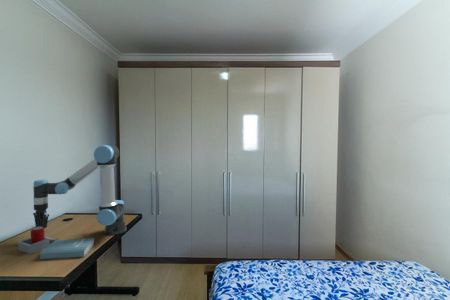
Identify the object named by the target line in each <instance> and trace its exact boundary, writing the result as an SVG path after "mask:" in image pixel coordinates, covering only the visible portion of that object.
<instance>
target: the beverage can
mask: <svg viewBox="0 0 450 300" xmlns="http://www.w3.org/2000/svg"><path fill="white" fill-rule="evenodd" d="M44 235H45V228H43V227H42V226H40V227H36V226H35V227H33V228H31V230H30V238H31V244H34V243H37V242H40V241H43V240H45V239H44Z"/></svg>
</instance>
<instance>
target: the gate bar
mask: <svg viewBox="0 0 450 300" xmlns="http://www.w3.org/2000/svg"><path fill="white" fill-rule="evenodd" d="M48 238H49V239H50V244H51V243H52V242H53V239H54V238H53V237H48V236H45V234H44V239H45V240H46V239H48Z"/></svg>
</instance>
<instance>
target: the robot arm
mask: <svg viewBox="0 0 450 300" xmlns="http://www.w3.org/2000/svg"><path fill="white" fill-rule="evenodd" d="M119 156H120V150H119V148H118V147H117V146H116V145H113V144H102V145H100V146H98V147H96V148H95V149H94V152H93V158H94V159H91V161H90V162H88V163H87V164H85V165H84V166H82V167H81V168H80V169H78V170H77V171H75V172H74V173H73V174H71V175H70V176H69V177H67V178H66V179H63V180H62V181H59V182H58V181H57V182H49V181H48V179H37V180H34V181H33V187H32V188H33V210H34V211H35V212H32V215H33V216H34V223H35V224H34V225H35V227H40V226H42V227H43V228H44V229H47V227H48V222H49V217H50V214H49V213H47V209H48V208H49V203H48V202H49V195H65V194H67V193H68V191H70V190H73V189H74V188H75V187H76V186H77V185H79V184H80V183H82V182H83V181H84V180H85V179H87V178H88V177H90V176H91V175H92V174H94V173H95V172H96V171H98V170H99V179H100V180H99V182H100V183H99V184H100V204H99V205H98V213H97V214H96V220H97V222H98V223H99V224H100V225H102V226H105V228H104V229H103V233H104V234H105V235H107V236H114V235H119V234H123V233H125V232H126V231H127V225H126V222H125V202H124V200H121V199H120V200H119V199H116V189H115V171H114V170H115V168H114V167H115V166H116V164H117V159H118V157H119Z"/></svg>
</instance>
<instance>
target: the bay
mask: <svg viewBox="0 0 450 300" xmlns="http://www.w3.org/2000/svg"><path fill="white" fill-rule="evenodd" d="M49 238H50V237H48V239H46V240H43V241H40V242H37V243H34V244H31V237H29V238H26V239H23V240H20V241H17V251H20V252H23V253H25V254H29V255H31V254H34V253H36V252H38V251H43V249H45V248H46V247H47V246H49V245H50V239H49ZM52 239H53V242H54V241H55V240H59V237H56V238H52Z"/></svg>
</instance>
